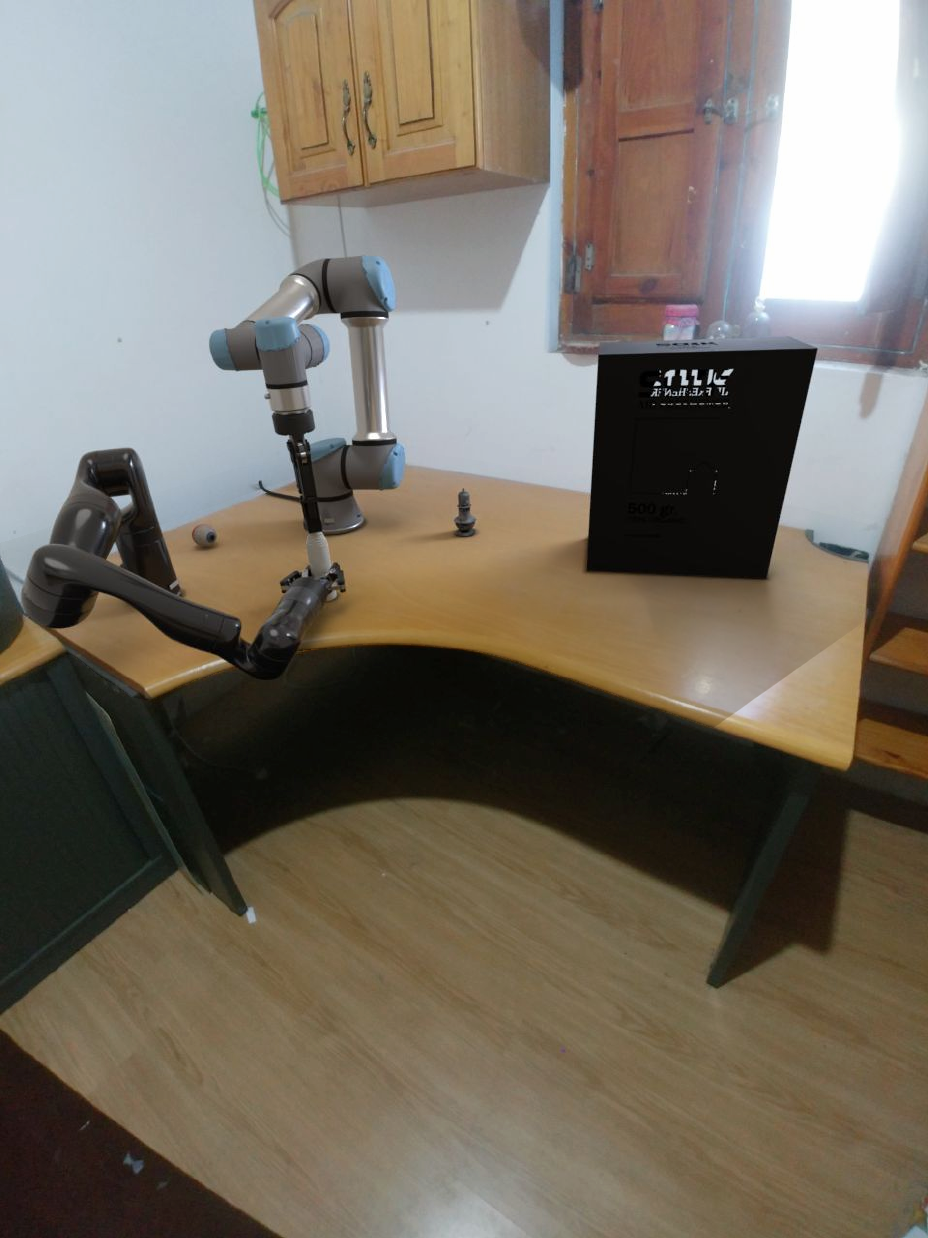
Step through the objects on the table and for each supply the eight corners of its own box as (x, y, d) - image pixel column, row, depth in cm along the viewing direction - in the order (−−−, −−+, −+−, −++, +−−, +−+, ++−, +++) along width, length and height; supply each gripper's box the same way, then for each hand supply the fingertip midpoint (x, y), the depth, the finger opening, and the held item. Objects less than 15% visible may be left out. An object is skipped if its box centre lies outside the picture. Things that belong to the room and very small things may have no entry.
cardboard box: (748, 541, 145) (788, 336, 123) (766, 578, 128) (817, 348, 106) (588, 536, 153) (599, 342, 130) (586, 571, 136) (598, 354, 113)
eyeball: (205, 552, 157) (199, 530, 154) (190, 548, 160) (184, 526, 157) (224, 544, 161) (219, 522, 158) (209, 540, 164) (203, 519, 161)
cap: (300, 530, 123) (298, 521, 122) (311, 523, 126) (309, 514, 125) (316, 532, 122) (314, 522, 121) (326, 525, 125) (325, 516, 124)
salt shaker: (474, 536, 157) (472, 491, 151) (452, 536, 158) (449, 491, 152) (478, 528, 161) (476, 484, 155) (457, 527, 163) (454, 484, 157)
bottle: (328, 590, 134) (315, 515, 126) (340, 595, 132) (327, 519, 123) (312, 597, 132) (297, 521, 123) (324, 603, 129) (309, 526, 120)
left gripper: (270, 621, 119) (297, 582, 134) (340, 620, 118) (360, 581, 132) (261, 587, 115) (290, 551, 130) (334, 586, 114) (355, 549, 129)
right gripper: (266, 405, 118) (290, 518, 130) (275, 420, 104) (301, 546, 116) (305, 400, 120) (324, 512, 132) (319, 415, 106) (339, 539, 118)
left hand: (325, 566), depth 131 cm, fingers closed on bottle, 4 cm apart
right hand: (313, 528), depth 124 cm, fingers closed on cap, 4 cm apart
